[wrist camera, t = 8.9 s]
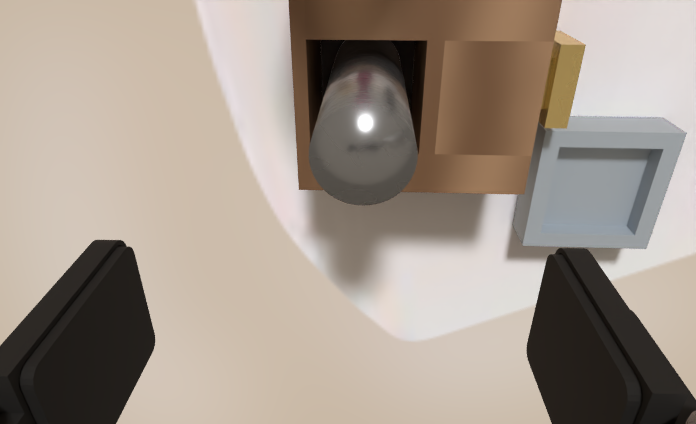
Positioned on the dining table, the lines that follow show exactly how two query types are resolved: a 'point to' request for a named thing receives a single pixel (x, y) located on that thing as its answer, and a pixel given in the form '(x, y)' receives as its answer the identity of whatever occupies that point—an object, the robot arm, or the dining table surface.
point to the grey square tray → (597, 182)
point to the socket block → (442, 82)
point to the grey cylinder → (364, 126)
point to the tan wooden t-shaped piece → (561, 81)
